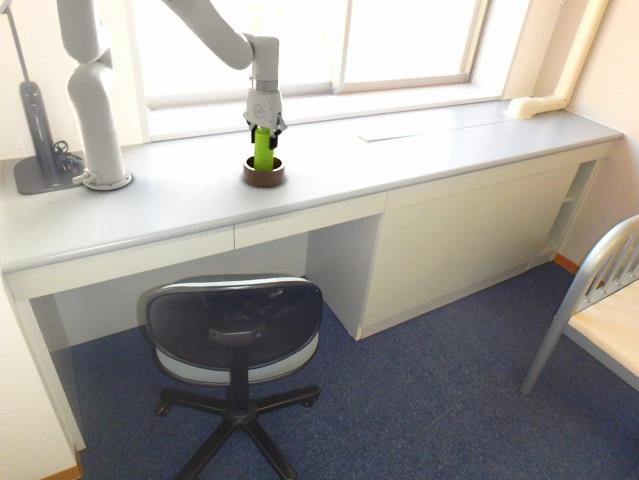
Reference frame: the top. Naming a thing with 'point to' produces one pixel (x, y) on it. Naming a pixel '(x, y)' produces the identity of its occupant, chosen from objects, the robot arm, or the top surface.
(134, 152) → the top surface
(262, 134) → the soap dispenser
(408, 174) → the top surface
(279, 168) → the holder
